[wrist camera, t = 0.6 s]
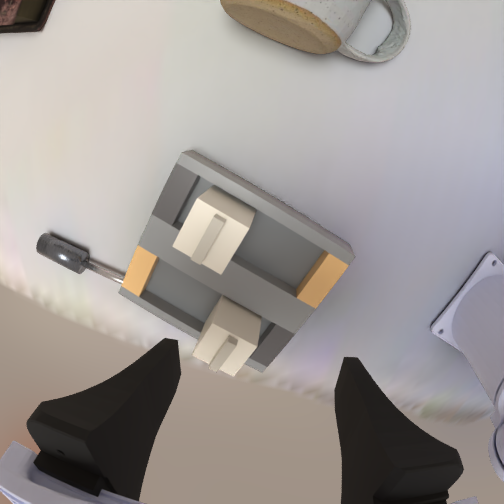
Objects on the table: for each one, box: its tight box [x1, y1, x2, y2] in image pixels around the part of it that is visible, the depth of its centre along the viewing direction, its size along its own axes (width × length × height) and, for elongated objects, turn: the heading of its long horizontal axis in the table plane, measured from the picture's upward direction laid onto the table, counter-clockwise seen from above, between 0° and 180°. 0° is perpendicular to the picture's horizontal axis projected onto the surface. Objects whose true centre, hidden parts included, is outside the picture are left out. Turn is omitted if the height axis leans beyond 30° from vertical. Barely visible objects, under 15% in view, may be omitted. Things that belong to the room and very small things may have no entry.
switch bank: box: [119, 150, 355, 372], centre depth 21 cm, size 12×11×2 cm
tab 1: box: [172, 185, 257, 275], centre depth 18 cm, size 3×3×5 cm
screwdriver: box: [36, 233, 150, 292], centre depth 23 cm, size 10×2×2 cm, turn 70°
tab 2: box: [192, 295, 262, 376], centre depth 21 cm, size 3×3×5 cm
